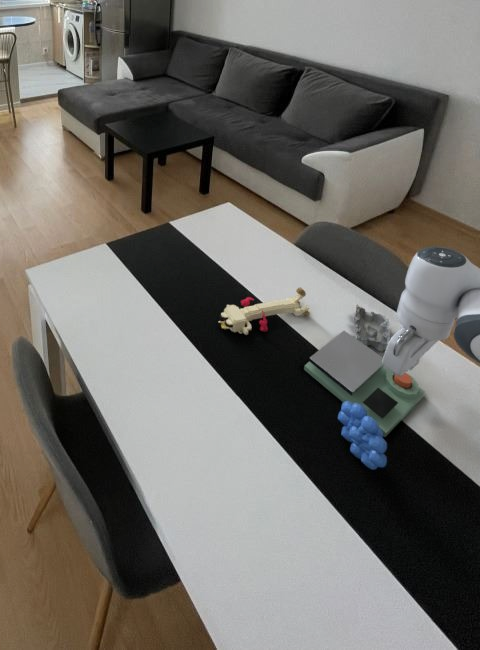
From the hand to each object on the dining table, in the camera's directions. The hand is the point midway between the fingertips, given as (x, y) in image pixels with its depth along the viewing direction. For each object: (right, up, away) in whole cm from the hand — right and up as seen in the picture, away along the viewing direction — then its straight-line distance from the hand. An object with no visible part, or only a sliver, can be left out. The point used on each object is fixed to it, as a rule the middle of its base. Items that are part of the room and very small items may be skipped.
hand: (410, 364), depth 93 cm
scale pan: (-8, -5, +5) cm, 10 cm away
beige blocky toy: (-22, -1, +23) cm, 32 cm away
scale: (-7, -7, +6) cm, 11 cm away
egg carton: (+3, -2, +17) cm, 18 cm away
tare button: (0, -5, +2) cm, 6 cm away
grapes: (-16, -13, -8) cm, 22 cm away
